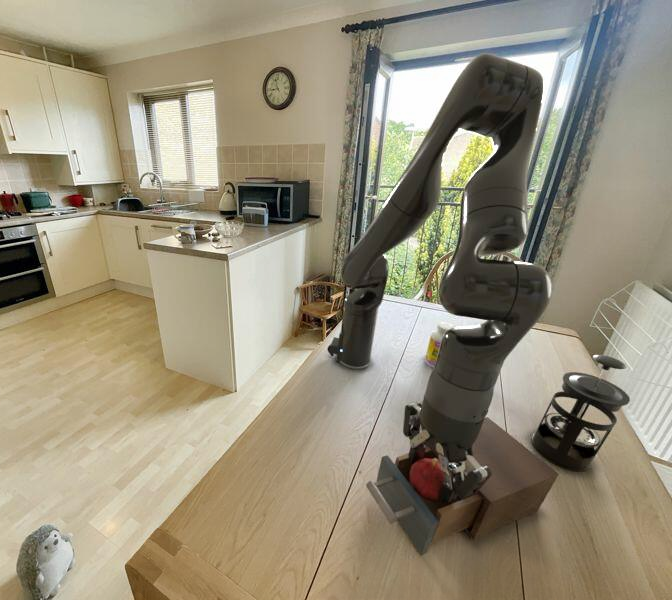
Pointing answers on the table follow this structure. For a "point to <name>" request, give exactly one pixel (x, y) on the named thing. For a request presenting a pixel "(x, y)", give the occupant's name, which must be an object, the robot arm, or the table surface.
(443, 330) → the supplement bottle
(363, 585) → the table surface
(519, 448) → the cabinet
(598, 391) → the french press
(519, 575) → the table surface
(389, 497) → the drawer
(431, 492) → the red round piece
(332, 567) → the table surface
